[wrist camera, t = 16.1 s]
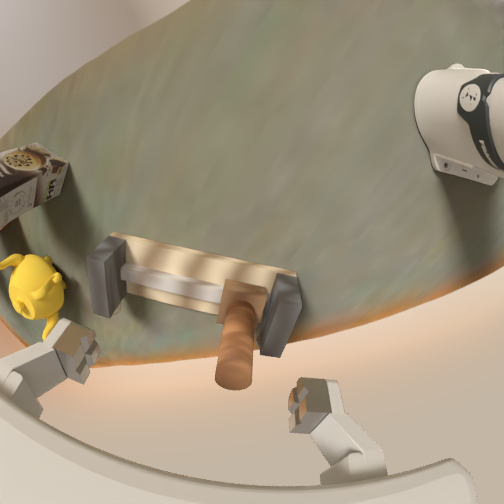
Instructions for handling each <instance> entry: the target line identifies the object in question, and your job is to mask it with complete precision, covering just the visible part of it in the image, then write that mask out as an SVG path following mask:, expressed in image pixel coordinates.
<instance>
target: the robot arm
mask: <svg viewBox="0 0 504 504" xmlns="http://www.w3.org/2000/svg"><path fill="white" fill-rule="evenodd" d="M414 109H415V117H416V122H417V125H418V128H419V131H420V133H421V136H422V137H423V139H424V141H425V143H426V145H427V146H428V148H429V151H430V157H431V162H432V166H433V168H434V169H435V170H436V171H440V172H444V173H448V174H451V175H455V176H459V177H463V178H466V179H470V180H473V181H477V182H480V183H483V184H487V185H490V186H492V185H493V184H494V183H495V182H496V181H497V179H498V178H499V177H501V178H503V179H504V74H501V73H490V72H489V71H487V70H484V69H466V68H465V67H464V66H462V65H461V64H453V65H451V66H450V67H449V68H448V69H445V70H435V71H431V72H429V73H428V74H426V75H425V76H424V77H423V78H422V80H421V81H420V83H419V85H418V87H417V90H416V94H415V101H414ZM445 163H446V166H445V167H444V164H445ZM95 337H96V334H95V331H94V330H92V329H89V328H87V327H84V326H82V325H80V324H77V323H75V322H73V321H70V320H68V319H65V318H62V319H61V320H60V321H59V322H58V323H57V324H56V326H55V327H54V328H53V330H52V331H51V332H50V334H49V335H48V336H47V338H46V339H45V340H44V342H43V343H41V342H39V343H36V344H34V345H32V346H29V347H27V348H25V349H22V350H20V351H18V352H16V353H13V354H11V355H9V356H6V357H4V358H2V359H0V504H478V501H477V496H476V490H475V485H474V481H473V478H472V476H471V474H470V472H469V471H467V469H466V468H464V467H463V466H462V465H461V464H460V463H459V462H457V461H456V460H454V459H452V458H448V459H444V460H441V461H439V462H436V463H433V464H430V465H426V466H423V467H420V468H416V469H413V470H409V471H405V472H402V473H398V474H393V475H389V476H388V475H387V469H386V464H385V460H384V456H383V451H382V449H381V448H380V447H379V446H378V445H377V443H375V441H374V440H373V439H372V438H371V437H370V436H369V435H368V434H367V433H366V432H365V431H364V430H363V429H362V428H361V427H360V426H359V425H358V424H357V422H355V420H354V419H353V418H352V417H351V416H350V415H349V414H348V413H345V411H344V407H343V402H342V397H341V393H340V388H339V384H338V382H337V381H336V380H324V379H314V378H302V377H301V378H299V380H298V381H297V387H295V388H293V389H292V391H291V393H290V396H289V401H288V410H289V411H290V412H291V413H292V415H291V417H290V418H289V429H290V433H305V434H309V435H310V437H311V438H312V439H313V441H314V442H315V444H316V445H317V447H318V448H319V450H320V451H321V453H322V454H323V456H324V457H325V458H326V460H327V461H328V463H329V464H330V466H331V467H330V468H329V469H327V470H326V471H324V472H323V473H321V475H320V482H321V485H318V486H287V487H286V486H257V485H244V484H234V483H224V482H217V481H210V480H205V479H199V478H194V477H188V476H184V475H179V474H175V473H171V472H167V471H162V470H159V469H155V468H152V467H148V466H145V465H141V464H138V463H135V462H132V461H129V460H126V459H124V458H120V457H118V456H115V455H113V454H110V453H107V452H105V451H102V450H100V449H98V448H95V447H93V446H91V445H88V444H86V443H84V442H82V441H79V440H77V439H75V438H73V437H71V436H69V435H67V434H65V433H63V432H61V431H59V430H58V429H56V428H54V427H52V426H50V425H48V424H47V423H45V422H43V421H42V420H40V419H39V417H40V415H41V413H42V411H43V408H42V406H41V404H40V403H39V401H38V400H37V399H36V398H38V397H39V396H41V395H42V394H44V393H46V392H47V391H49V390H50V389H52V388H53V387H55V386H56V385H58V384H59V383H61V382H62V381H64V380H65V379H67V378H70V379H72V380H74V381H77V382H79V383H82V384H84V383H85V381H86V379H87V377H88V376H89V374H90V370H89V367H91V366H93V365H94V364H95V362H96V360H97V358H98V354H99V347H98V343H97V342H96V341H95V340H94V339H95Z"/></svg>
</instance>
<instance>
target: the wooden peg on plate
mask: <svg viewBox="0 0 504 504" xmlns="http://www.w3.org/2000/svg"><path fill="white" fill-rule="evenodd" d="M266 300H267V292H266V291H265V287H262V286H257V285H253V284H248V283H243V282H238V281H233V280H229V279H225V283H224V287H223V292H222V297H221V302H220V307H219V312H218V317H217V322H216V323H220V324H224V326H223V331H222V337H221V343H220V349H219V355H218V361H217V367H216V374H215V381H216V383H217V384H218V385H219V386H221V387H223V388H225V389H229V390H242V389H245V388H247V387H249V386H250V385H251V383H252V366H253V343H254V330H256V331H257V328H258V325H259V322H260V318H261V315H262V312H263V309H264V306H265V303H266Z"/></svg>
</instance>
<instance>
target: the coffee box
mask: <svg viewBox="0 0 504 504" xmlns="http://www.w3.org/2000/svg"><path fill="white" fill-rule="evenodd" d="M68 165H69V163H68V161H66V160H65V159H63V158H61V157H60V156H58V155H57V154H55V153H54V152H52V151H50V150H49V149H47V148H46V147H44V146H43V145H41V144H40V143H38V142H37V143H33V144H29V145H25V146H21V147H18V148H14V149H11V150H8V151H5V152H1V153H0V227H2V226H3V225H5V224H7V223H8V222H10V221H12V220H13V219H15V218H17V217H19V216H20V215H22V214H24V213H25V212H27V211H29V210H31V209H33V208H35V207H36V206H38V205H40V204H42V203H44V202H46V201H48V200H50V199H52V198H54V197H56V196H58V195H60V192H61V189H62V185H63V182H64V178H65V175H66V172H67V168H68Z"/></svg>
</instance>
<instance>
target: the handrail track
mask: <svg viewBox="0 0 504 504" xmlns="http://www.w3.org/2000/svg"><path fill="white" fill-rule="evenodd" d="M86 262H87V272H88V280H89V288H90V295H91V301H92V307H93V313H95V314H97V315H100V316H103V317H106V318H109V319H110V318H111V316H112V315H115V314H117V313H119V312H120V310H121V301H122V299H123V298H124V296H125V295H126V293H131V294H134V295H138V296H141V297H145V298H149V299H153V300H157V301H160V302H164V303H168V304H172V305H176V306H181V307H185V308H189V309H193V310H198V311H202V312H207V313H211V314H216V315H218V312H219V307H220V302H221V297H222V292H223V287H224V283H225V279H229V280H233V281H238V282H243V283H248V284H253V285H257V286H262V287H265V291H266V292H267V300H266V303H265V306H264V309H263V312H262V315H261V318H260V322H259V323H261V324H260V335H259V336H258V338H257V341H256V345H257V347H258V348H259V349H260V355H265V356H271V357H278V358H280V357H281V354H282V352H283V350H284V348H285V346H286V343H287V341H288V339H289V337H290V334H291V332H292V330H293V328H294V325H295V323H296V321H297V318H298V316H299V314H300V311H301V309H302V302H301V296H300V291H299V286H298V281H297V276H296V272H295V271H290V270H285V269H281V268H276V267H271V266H266V265H262V264H257V263H252V262H248V261H243V260H238V259H234V258H229V257H224V256H220V255H215V254H211V253H206V252H202V251H197V250H192V249H188V248H183V247H179V246H174V245H170V244H165V243H161V242H156V241H152V240H148V239H143V238H139V237H134V236H130V235H126V234H121V233H117V232H113V233H112V234H111V235H109V236H108V237H107V238H106V239H105V240H104V241H103V242H102V243H101V244H99V245H98V246H97V247H96V248H95V249H94V250H93V251H92V252H91V253H90V254H89V255H88V256H87V257H86Z"/></svg>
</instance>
